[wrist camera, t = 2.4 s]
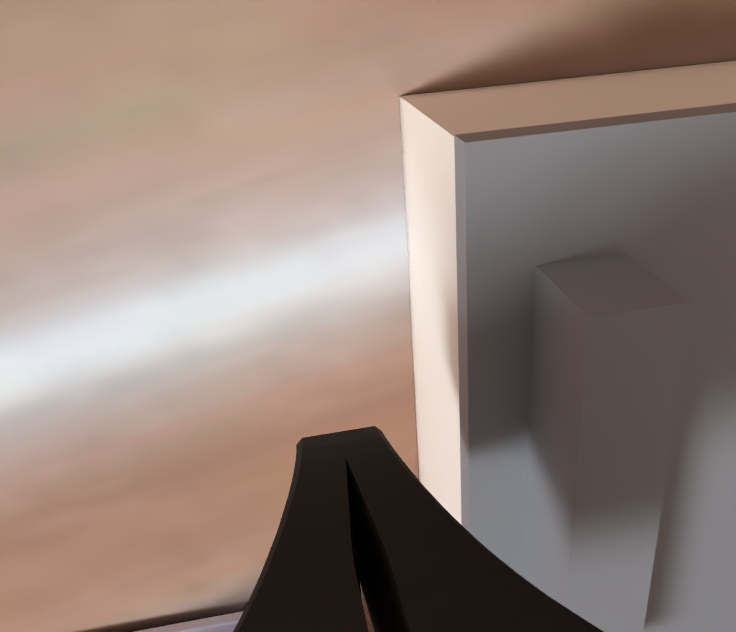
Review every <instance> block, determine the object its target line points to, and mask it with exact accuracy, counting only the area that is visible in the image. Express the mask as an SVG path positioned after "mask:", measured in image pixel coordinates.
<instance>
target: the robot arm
mask: <svg viewBox="0 0 736 632" xmlns="http://www.w3.org/2000/svg"><path fill="white" fill-rule="evenodd" d="M360 583H361V586H362V590H363V593H364V597H365V600H366V604H367V607H368V611H369V614H370V617H371V621H372V624H373V628H374V631H375V632H604V631H602V630H600V629H599V628H597V627H596V626H594V625H593V624H591V623H589V622H588V621H586V620H585V619H583V618H582V617H580V616H579V615H577V614H575V613H574V612H572V611H571V610H569V609H568V608H566V607H565V606H563V605H562V604H560V603H558V602H557V601H555V600H554V599H552V598H551V597H549V596H548V595H546V594H545V593H544V592H542V591H541V590H540V589H538V588H537V587H535V586H534V585H533V584H531V583H530V582H529V581H527V580H526V579H525V578H523V577H522V576H521V575H519V574H518V573H517V572H515V571H514V570H513V569H512V568H510V567H509V566H508V565H507V564H505V563H504V562H503V561H502V560H500V559H499V558H498V557H497V556H496V555H494V554H493V553H492V552H491V551H490V550H489V549H487V548H486V547H485V546H484V545H483V544H482V543H481V542H479V541H478V540H477V539H476V538H475V537H474V536H473V535H472V534H471V533H470V532H469V531H467V530H466V529H465V528H464V527H463V526H462V525H461V524H460V523H459V522H458V521H457V520H456V519H455V518H454V517H453V516H452V515H451V514H450V513H449V512H448V511H447V510H446V509H445V508H444V507H443V506H442V505H441V504H440V503H439V502H438V501H437V500H436V499H435V497H434V496H433V495H432V494H431V493H430V492H429V491H428V490H427V489H426V488H425V487H424V486H423V484H422V483H421V482H420V481H419V480H418V479H417V478H416V476H415V475H414V474H413V473H412V472H411V470H410V469H409V468H408V467H407V466H406V464H405V463H404V462H403V461H402V459H401V458H400V457H399V455H398V454H397V453H396V452H395V450H394V449H393V447H392V446H391V445H390V443H389V442H388V440H387V439H386V437H385V436H384V434H383V433H382V431H381V430H379V429H378V428H377V427H375V426H373V427H366V428H360V429H354V430H348V431H342V432H336V433H330V434H324V435H317V436H311V437H305V438H302V439H301V440H300V441H299V442H298V444H297V453H296V462H295V469H294V474H293V479H292V483H291V487H290V491H289V495H288V499H287V502H286V505H285V509H284V512H283V515H282V518H281V522H280V525H279V528H278V531H277V534H276V536H275V539H274V542H273V544H272V547H271V549H270V552H269V555H268V557H267V560H266V562H265V565H264V567H263V570H262V572H261V575H260V577H259V579H258V582H257V584H256V586H255V588H254V591H253V593H252V595H251V597H250V599H249V601H248V603H247V605H246V607H245V609H244V611H241V612H236V613H230V614H225V615H220V616H214V617H209V618H204V619H198V620H193V621H188V622H182V623H177V624H172V625H166V626H161V627H156V628H150V629H145V630H140V631H134V632H368V628H367V623H366V619H365V614H364V610H363V605H362V600H361V588H360Z"/></svg>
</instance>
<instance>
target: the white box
mask: <svg viewBox="0 0 736 632" xmlns="http://www.w3.org/2000/svg"><path fill="white" fill-rule="evenodd" d="M399 97H400V116H401V135H402V154H403V173H404V192H405V211H406V230H407V249H408V268H409V287H410V306H411V325H412V344H413V363H414V382H415V401H416V420H417V440H418V459H419V478H420V482H421V483H422V484H423V486H424V487H425V488H426V489H427V490H428V491H429V492H430V493H431V494H432V495H433V496H434V497H435V499H436V500H437V501H438V502H439V503H440V504H441V505H442V506H443V507H444V508H445V509H446V510H447V511H448V512H449V513H450V514H451V515H452V516H453V517H454V518H455V519H456V520H457V521H458V522H459V523H460V524H461V470H460V416H459V363H458V309H457V256H456V202H455V148H454V135H457V134H466V133H475V132H483V131H492V130H501V129H510V128H519V127H528V126H536V125H545V124H554V123H563V122H572V121H580V120H589V119H598V118H607V117H616V116H625V115H633V114H642V113H651V112H660V111H669V110H677V109H686V108H695V107H704V106H713V105H722V104H730V103H736V61H727V62H718V63H708V64H699V65H689V66H680V67H670V68H661V69H651V70H642V71H632V72H623V73H614V74H604V75H595V76H585V77H576V78H566V79H557V80H547V81H538V82H529V83H519V84H510V85H500V86H491V87H481V88H472V89H462V90H453V91H444V92H434V93H425V94H415V95H406V96H399ZM461 525H462V524H461Z"/></svg>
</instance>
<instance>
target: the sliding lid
mask: <svg viewBox="0 0 736 632" xmlns="http://www.w3.org/2000/svg"><path fill="white" fill-rule="evenodd" d="M454 148H455V202H456V256H457V309H458V363H459V416H460V470H461V524H462V526H463V527H464V528H465V529H466V530H467V531H469V532H470V533H471V534H472V535H473V536H474V537H475V538H476V539H477V540H478V541H479V542H481V543H482V544H483V545H484V546H485V547H486V548H487V549H489V550H490V551H491V552H492V553H493V554H494V555H496V556H497V557H498V558H499V559H500V560H502V561H503V562H504V563H505V564H507V565H508V566H509V567H510V568H512V569H513V570H514V571H515V572H517V573H518V574H519V575H521V576H522V577H523V578H525V579H526V580H527V581H529V582H530V583H531V584H533V585H534V586H535V587H537V588H538V589H540V590H541V591H542V592H544V593H545V594H546V595H548V596H549V597H551V598H552V599H554V600H555V601H557V602H558V603H560V604H562V605H563V606H565V607H566V608H568V609H569V610H571V611H572V612H574V613H575V614H577V615H579V616H580V617H582V618H583V619H585V620H586V621H588V622H589V623H591V624H593V625H594V626H596V627H597V628H599V629H600V630H602V631H604V632H736V103H730V104H722V105H713V106H704V107H695V108H686V109H677V110H669V111H660V112H651V113H642V114H633V115H625V116H616V117H607V118H598V119H589V120H580V121H572V122H563V123H554V124H545V125H536V126H528V127H519V128H510V129H501V130H492V131H483V132H475V133H466V134H457V135H454Z"/></svg>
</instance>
